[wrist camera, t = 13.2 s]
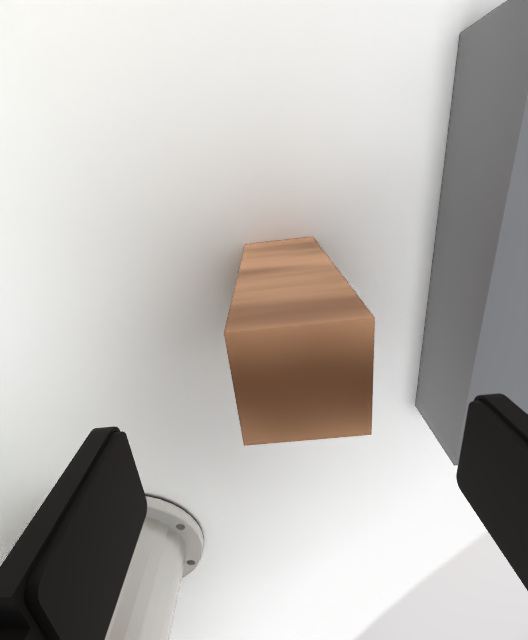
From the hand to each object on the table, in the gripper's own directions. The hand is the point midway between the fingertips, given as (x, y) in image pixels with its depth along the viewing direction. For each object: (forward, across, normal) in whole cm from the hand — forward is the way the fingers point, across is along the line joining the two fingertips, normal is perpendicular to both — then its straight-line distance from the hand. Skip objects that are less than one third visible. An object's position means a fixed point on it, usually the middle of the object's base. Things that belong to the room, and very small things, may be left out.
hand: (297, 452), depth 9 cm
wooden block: (+15, -1, -1) cm, 15 cm away
